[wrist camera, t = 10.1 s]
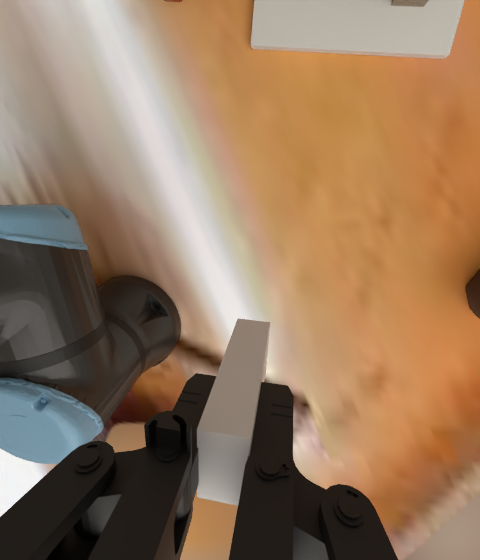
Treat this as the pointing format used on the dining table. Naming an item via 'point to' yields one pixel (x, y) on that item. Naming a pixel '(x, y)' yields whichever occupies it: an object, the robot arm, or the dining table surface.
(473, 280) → the beer bottle
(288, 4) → the base board
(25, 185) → the dining table surface
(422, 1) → the eye bracket
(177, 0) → the disc-ended rod
